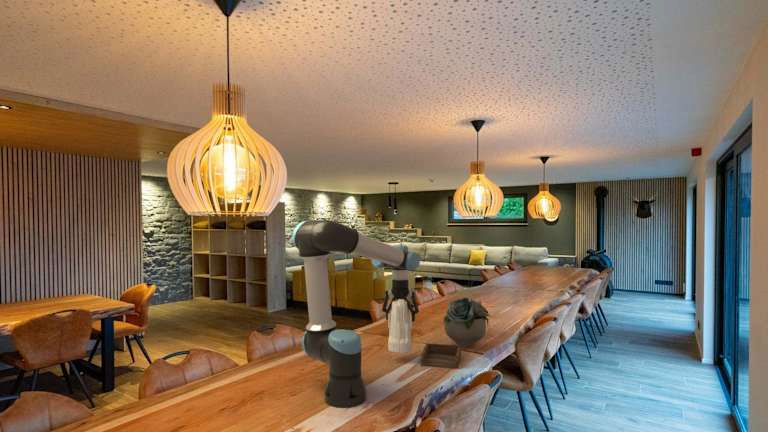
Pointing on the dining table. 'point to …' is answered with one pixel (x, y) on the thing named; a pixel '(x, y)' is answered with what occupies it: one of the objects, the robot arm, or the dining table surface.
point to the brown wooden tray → (441, 356)
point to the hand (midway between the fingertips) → (400, 327)
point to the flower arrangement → (466, 321)
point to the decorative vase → (400, 327)
